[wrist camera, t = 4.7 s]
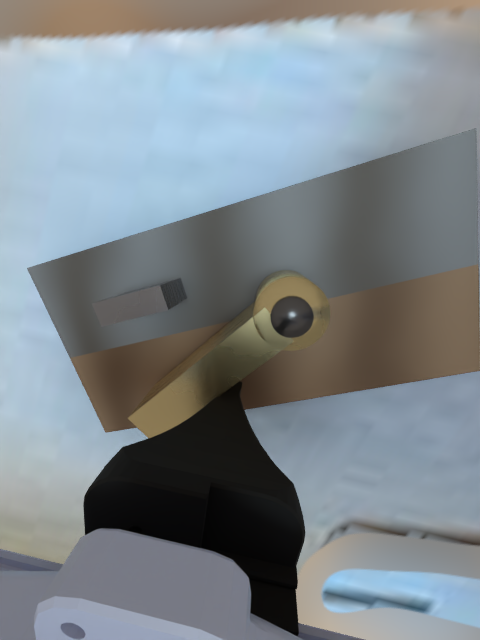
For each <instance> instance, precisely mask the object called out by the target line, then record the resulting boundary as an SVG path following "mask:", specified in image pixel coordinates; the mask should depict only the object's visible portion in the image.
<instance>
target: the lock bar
mask: <svg viewBox="0 0 480 640" xmlns="http://www.w3.org/2000/svg"><path fill="white" fill-rule="evenodd" d="M329 320H330V305H329V302H328V299H327V297H326V295H325V294H324V292H323V291H322V290H321V289H320V288H319V287H318V286H317V285H315V284H314V283H313V282H311V281H310V280H309V279H307V278H306V277H305V276H303V275H302V274H300V273H298V272H295V271H291V270H281V271H277V272H274V273H272V274H271V275H269V276H268V277H266V278H265V279H264V280H263V282H262V283H261V284H260V286H259V288H258V291H257V295H256V300H255V302H254V303H252V304H251V305H250V306H249V307H248V308H246V309H245V310H244V311H243V312H242V313H240V314H239V315H238V316H237V317H235V318H234V319H233V320H232V321H231V322H229V323H228V324H227V325H226V326H225V327H223V328H222V329H221V330H220V331H219V332H217V333H216V334H215V335H214V336H212V337H211V338H210V339H209V340H208V341H206V342H205V343H204V344H203V345H202V346H200V347H199V348H198V349H197V350H196V351H194V352H193V353H192V354H191V355H190V356H188V357H187V358H186V359H185V360H183V361H182V362H181V363H180V364H179V365H177V366H176V367H175V368H174V369H173V370H171V371H170V372H169V373H168V374H167V375H165V376H164V377H163V378H162V379H160V380H159V381H158V382H157V383H156V384H155V385H154V386H153V387H152V389H151V390H150V391H149V392H148V394H147V395H146V396H145V397H144V399H143V400H142V401H141V402H140V403H139V405H138V406H137V407H136V408H135V410H134V411H133V412H132V413H131V415H130V416H129V417H128V419H129V420H130V421H131V422H132V423H133V424H134V425H135V426H136V427H137V428H138V429H139V430H140V431H141V432H143V433H144V434H145V435H146V436H147V437H148V438H151V437H154V436H156V435H159V434H161V433H163V432H165V431H167V430H169V429H171V428H173V427H175V426H177V425H179V424H180V423H182V422H184V421H185V420H187V419H188V418H190V417H191V416H193V415H194V414H195V413H197V412H198V411H199V410H201V409H202V408H203V407H204V406H205V405H206V404H208V403H209V402H210V401H211V400H212V399H213V398H214V397H216V396H220V395H221V394H223V393H224V392H225V391H227V390H228V389H229V388H231V387H232V386H234V385H235V384H236V383H238V382H239V381H240V380H242V379H243V378H244V377H246V376H247V375H249V374H250V373H251V372H253V371H254V370H255V369H257V368H258V367H259V366H261V365H262V364H264V363H265V362H266V361H268V360H269V359H270V358H272V357H273V356H274V355H276V354H277V353H279V352H280V351H281V350H286V351H295V350H301V349H304V348H307V347H309V346H311V345H312V344H314V343H315V342H316V341H318V340H319V339H320V338H321V337H322V335H323V334H324V333H325V331H326V329H327V327H328V324H329Z"/></svg>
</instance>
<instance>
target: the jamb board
mask: <svg viewBox="0 0 480 640" xmlns="http://www.w3.org/2000/svg"><path fill="white" fill-rule="evenodd" d="M27 269H28V271H29V273H30V275H31V278H32V280H33V282H34V284H35V286H36V288H37V290H38V292H39V294H40V296H41V298H42V301H43V303H44V305H45V307H46V309H47V311H48V313H49V315H50V317H51V319H52V321H53V324H54V326H55V328H56V330H57V332H58V334H59V336H60V338H61V340H62V342H63V344H64V346H65V349H66V351H67V353H68V355H69V357H70V359H71V361H72V363H73V365H74V367H75V369H76V372H77V374H78V376H79V378H80V380H81V382H82V384H83V386H84V388H85V390H86V392H87V395H88V397H89V399H90V401H91V403H92V405H93V407H94V409H95V411H96V413H97V415H98V418H99V420H100V422H101V424H102V426H103V428H104V430H105V432H112V431H118V430H124V429H130V428H136V426H135V425H134V424H133V423H132V422H131V421H130V420H129V419H128V417H129V416H130V415H131V413H132V412H133V411H134V410H135V408H136V407H137V406H138V405H139V403H140V402H141V401H142V400H143V399H144V397H145V396H146V395H147V394H148V392H149V391H150V390H151V389H152V387H153V386H154V385H155V384H156V383H157V382H158V381H159V380H160V379H162V378H163V377H164V376H165V375H167V374H168V373H169V372H170V371H171V370H173V369H174V368H175V367H176V366H177V365H179V364H180V363H181V362H182V361H183V360H185V359H186V358H187V357H188V356H190V355H191V354H192V353H193V352H194V351H196V350H197V349H198V348H199V347H200V346H202V345H203V344H204V343H205V342H206V341H208V340H209V339H210V338H211V337H212V336H214V335H215V334H216V333H217V332H219V331H220V330H221V329H222V328H223V327H225V326H226V325H227V324H228V323H229V322H231V321H232V320H233V319H234V318H235V317H237V316H238V315H239V314H240V313H242V312H243V311H244V310H245V309H246V308H248V307H249V306H250V305H251V304H252V303H254V302H255V300H256V295H257V291H258V288H259V286H260V284H261V283H262V282H263V280H264V279H265V278H266V277H268V276H269V275H271V274H272V273H274V272H277V271H281V270H291V271H295V272H298V273H300V274H302V275H303V276H305V277H306V278H307V279H309V280H310V281H311V282H313V283H314V284H315V285H317V286H318V287H319V288H320V289H321V290H322V291H323V292H324V294H325V295H326V297H327V299H328V302H329V305H330V320H329V324H328V327H327V329H326V331H325V333H324V334H323V335H322V337H321V338H320V339H319V340H318V341H316V342H315V343H314V344H312V345H311V346H309V347H307V348H304V349H301V350H295V351H286V350H281V351H280V352H279V353H277V354H276V355H274V356H273V357H272V358H270V359H269V360H268V361H266V362H265V363H264V364H262V365H261V366H259V367H258V368H257V369H255V370H254V371H253V372H251V373H250V374H249V375H247V376H246V377H244V378H243V379H242V380H240V381H239V382H242V388H241V394H240V397H241V401H242V405H243V408H244V410H245V409H251V408H257V407H263V406H270V405H276V404H282V403H288V402H294V401H300V400H306V399H312V398H318V397H324V396H330V395H336V394H342V393H348V392H354V391H360V390H366V389H372V388H378V387H385V386H391V385H397V384H403V383H409V382H415V381H421V380H427V379H433V378H439V377H445V376H451V375H457V374H463V373H469V372H475V371H480V334H479V268H478V202H477V136H476V128H475V129H472V130H469V131H465V132H462V133H459V134H456V135H453V136H449V137H446V138H443V139H440V140H437V141H433V142H430V143H427V144H424V145H420V146H417V147H414V148H411V149H408V150H404V151H401V152H398V153H395V154H392V155H388V156H385V157H382V158H379V159H376V160H372V161H369V162H366V163H363V164H360V165H356V166H353V167H350V168H347V169H344V170H340V171H337V172H334V173H331V174H328V175H324V176H321V177H318V178H315V179H312V180H308V181H305V182H302V183H299V184H295V185H292V186H289V187H286V188H283V189H279V190H276V191H273V192H270V193H267V194H263V195H260V196H257V197H254V198H251V199H247V200H244V201H241V202H238V203H235V204H231V205H228V206H225V207H222V208H219V209H215V210H212V211H209V212H206V213H203V214H199V215H196V216H193V217H190V218H186V219H183V220H180V221H177V222H174V223H170V224H167V225H164V226H161V227H158V228H154V229H151V230H148V231H145V232H142V233H138V234H135V235H132V236H129V237H126V238H122V239H119V240H116V241H113V242H110V243H106V244H103V245H100V246H97V247H94V248H90V249H87V250H84V251H81V252H78V253H74V254H71V255H68V256H65V257H61V258H58V259H55V260H52V261H49V262H45V263H42V264H39V265H36V266H33V267H29V268H27ZM178 278H181V280H182V283H183V286H184V290H185V293H186V296H187V299H185V300H184V301H182V302H180V303H179V304H177V305H176V306H174V307H173V308H171V309H170V310H167V311H163V312H159V313H155V314H151V315H147V316H143V317H139V318H135V319H131V320H127V321H123V322H119V323H115V324H111V325H107V326H103V327H101V324H100V322H99V320H98V317H97V315H96V313H95V310H94V308H93V306H92V303H95V302H98V301H101V300H104V299H107V298H111V297H114V296H117V295H120V294H123V293H127V292H130V291H134V290H138V289H141V288H145V287H149V286H152V285H156V284H160V283H164V282H167V281H171V280H175V279H178Z"/></svg>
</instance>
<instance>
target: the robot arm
mask: <svg viewBox="0 0 480 640" xmlns="http://www.w3.org/2000/svg"><path fill="white" fill-rule="evenodd" d="M241 388H242V382H238V383H236V384H235V385H234V386H232V387H231V388H229V389H228V390H227V391H225V392H224V393H223V394H221V395H220V396H216V397H214V398H213V399H212V400H211V401H210V402H209V403H208V404H206V405H205V406H204V407H203V408H202V409H201V410H199V411H198V412H197V413H195V414H194V415H193V416H191V417H190V418H188V419H187V420H185V421H184V422H182V423H180V424H179V425H177V426H175V427H173V428H171V429H169V430H167V431H165V432H163V433H161V434H159V435H156V436H154V437H151V438H149V439H146V440H143V441H140V442H137V443H134V444H131V445H128V446H125V447H122V448H121V449H120V451H119V452H118V453H117V454H116V455H115V456H114V457H113V458H112V459H111V460H110V461H109V462H108V464H107V465H106V466H105V467H104V469H103V470H102V471H101V473H100V474H99V475H98V477H97V478H96V479H95V481H94V482H93V483H92V485H91V486H90V487H89V489H88V491H87V493H86V494H85V497H84V522H85V536H83V537H81V538H80V539H79V541H78V543H77V544H76V546H75V547H74V549H73V550H72V552H71V553H70V555H69V556H68V558H67V560H66V561H65V563H64V564H59V563H55V562H51V561H47V560H43V559H39V558H35V557H31V556H27V555H23V554H19V553H15V552H11V551H7V550H3V549H0V640H364V639H359V638H356V637H352V636H348V635H344V634H340V633H335V632H332V631H328V630H324V629H320V628H316V627H312V626H308V625H304V624H300V623H298V615H297V602H296V590H295V589H297V584H298V580H297V568H296V565H297V562H298V559H299V556H300V553H301V549H302V546H303V543H304V538H305V526H304V520H303V515H302V511H301V507H300V503H299V499H298V496H297V493H296V490H295V487H294V484H293V483H292V482H291V481H290V480H289V479H288V478H287V477H286V476H285V475H284V473H283V472H282V471H281V470H280V469H279V468H278V467H277V466H276V465H275V464H274V462H273V461H272V460H271V459H270V457H269V456H268V454H267V453H266V451H265V450H264V449H263V447H262V446H261V444H260V443H259V441H258V439H257V437H256V436H255V434H254V432H253V430H252V428H251V426H250V424H249V421H248V419H247V416H246V414H245V411H244V408H243V405H242V401H241V397H240V394H241Z"/></svg>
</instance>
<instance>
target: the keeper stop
mask: <svg viewBox="0 0 480 640" xmlns="http://www.w3.org/2000/svg"><path fill="white" fill-rule="evenodd" d="M185 299H187V296H186V293H185V290H184V286H183V283H182V280H181V278H178V279H175V280H171V281H167V282H164V283H160V284H156V285H152V286H149V287H145V288H141V289H138V290H134V291H130V292H127V293H123V294H120V295H117V296H114V297H111V298H107V299H104V300H101V301H98V302H95V303H92V306H93V308H94V310H95V313H96V315H97V317H98V320H99V322H100V324H101V327H103V326H107V325H111V324H115V323H119V322H123V321H127V320H131V319H135V318H139V317H143V316H147V315H151V314H155V313H159V312H163V311H167V310H170V309H171V308H173V307H174V306H176V305H177V304H179V303H180V302H182V301H184V300H185Z"/></svg>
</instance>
